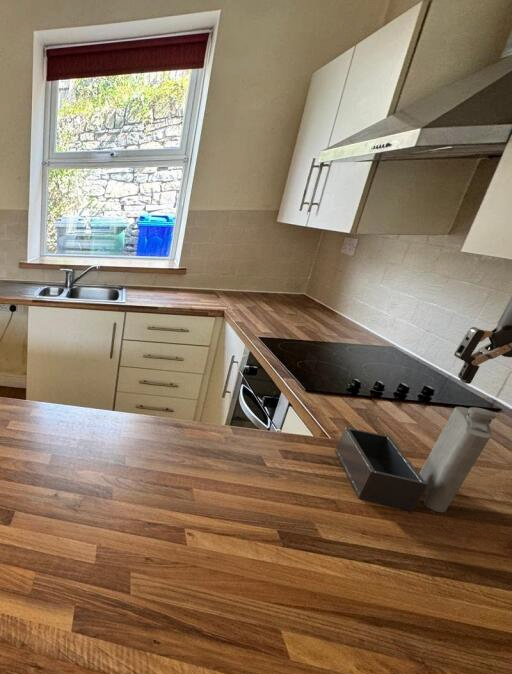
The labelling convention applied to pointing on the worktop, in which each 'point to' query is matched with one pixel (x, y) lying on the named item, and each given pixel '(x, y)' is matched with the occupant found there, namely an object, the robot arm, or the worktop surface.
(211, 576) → the worktop surface
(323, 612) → the worktop surface
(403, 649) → the worktop surface
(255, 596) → the worktop surface
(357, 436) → the flask holder
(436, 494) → the hip flask
